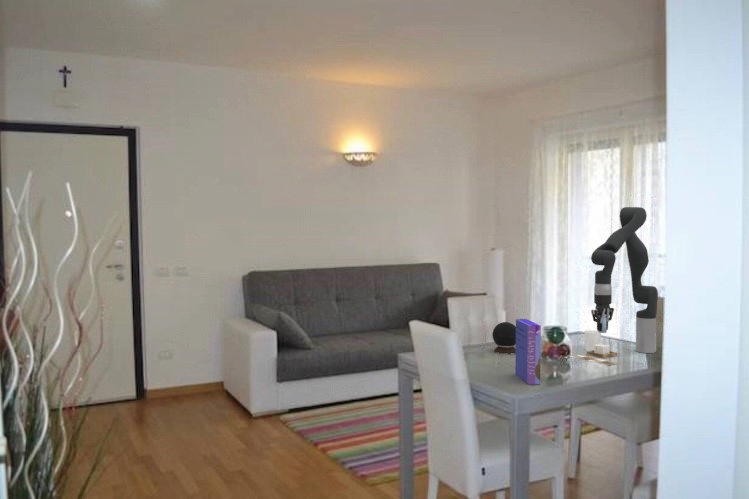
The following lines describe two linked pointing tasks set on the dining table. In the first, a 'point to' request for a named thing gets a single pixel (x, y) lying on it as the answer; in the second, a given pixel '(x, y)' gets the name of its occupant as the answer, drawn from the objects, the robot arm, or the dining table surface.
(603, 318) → the pale blue capsule
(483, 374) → the dining table surface
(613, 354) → the tray
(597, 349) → the die
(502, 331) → the black orb on stand
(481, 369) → the dining table surface
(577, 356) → the board
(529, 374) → the cereal box
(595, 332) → the white cup
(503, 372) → the dining table surface
